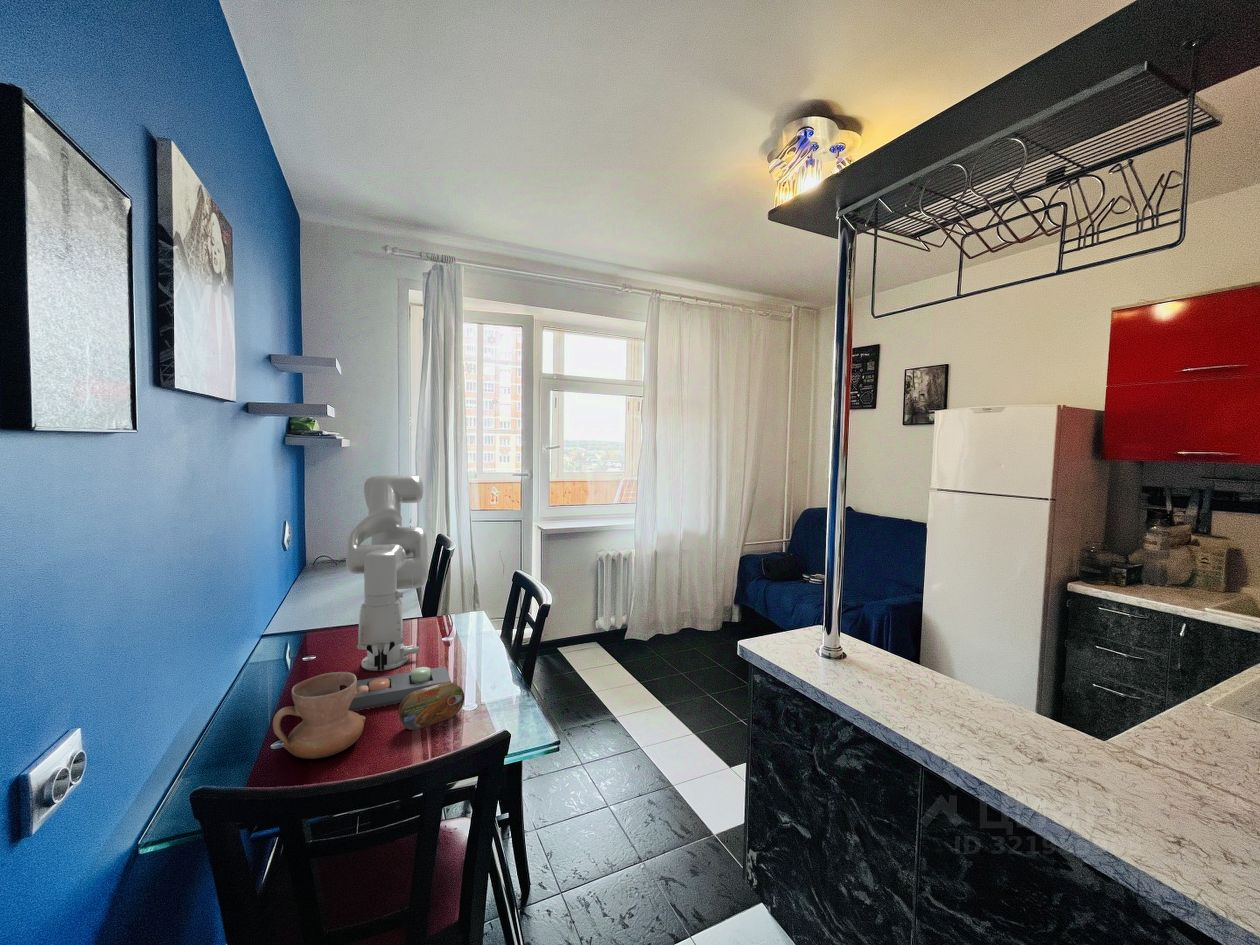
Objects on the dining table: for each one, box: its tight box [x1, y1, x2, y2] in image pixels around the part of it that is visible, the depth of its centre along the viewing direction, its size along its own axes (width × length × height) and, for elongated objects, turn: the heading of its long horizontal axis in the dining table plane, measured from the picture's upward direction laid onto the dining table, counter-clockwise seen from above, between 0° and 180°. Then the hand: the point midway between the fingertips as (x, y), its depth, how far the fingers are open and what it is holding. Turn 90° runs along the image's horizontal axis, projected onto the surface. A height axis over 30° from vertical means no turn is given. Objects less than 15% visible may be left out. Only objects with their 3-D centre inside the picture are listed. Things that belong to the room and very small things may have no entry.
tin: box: [397, 681, 465, 731], centre depth 123 cm, size 15×3×8 cm, turn 130°
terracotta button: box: [369, 678, 390, 692], centre depth 134 cm, size 5×5×3 cm
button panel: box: [348, 665, 452, 712], centre depth 136 cm, size 24×10×4 cm, turn 117°
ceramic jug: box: [272, 671, 368, 760], centre depth 112 cm, size 18×14×14 cm
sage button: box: [410, 666, 431, 684], centre depth 138 cm, size 5×5×3 cm
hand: (380, 668), depth 134 cm, fingers closed
